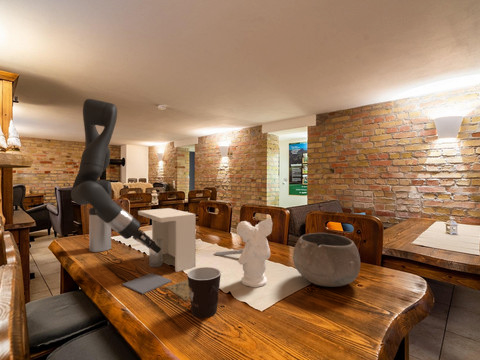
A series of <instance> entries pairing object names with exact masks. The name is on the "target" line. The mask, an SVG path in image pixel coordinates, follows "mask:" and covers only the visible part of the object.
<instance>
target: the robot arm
mask: <svg viewBox="0 0 480 360" xmlns="http://www.w3.org/2000/svg"><path fill="white" fill-rule="evenodd" d="M82 118H83V119H82V121H83V127H84V139H85V141H84V142H85V143H84V145H85V147H84V148H85V149H84V150H83V152H82V153H81V158H80V163H79V166H78V167H79V169H78V172H77V175H76V177H75V179H74V181H73V183H72V187H71V193H70V196H71V199H72V201H73V203H75V204H77V205H80V206H83V205H84V206H85V205H91V206H92V207H90V208H89V209H88V214H89V215H88V219H89V220H88V221H89V222H88V224H89V225H88V230H89V232H88V234H89V236H88V239H89V240H88V241H89V243H88V244H89V245H88V247H89V248H88V250H89V252H92V253H98V252H104V251H109V250H111V249H112V230H113V231H114V232H115V233H116V234H118V235H120V236H121V237H123V239H125V240H127V239H130V238H131V237H132V239H133V240H134V241H136V242H138V243H140V244H142V245H143V246H145V247H146V248H148V249H149V248H151V249H152V250H153V251H155V252H156V253H159V251H160V250H161V248H160V247H159V246H157V245H156V244H155V242H154V241H153V240H151V239H152V237H150V236H149V235H148V234H146V232H145V231H143V230H141V229H140V228H141V225H142V224H141V222H140V221H139V220H138V219H136V218H135V217H134V216H133V215H131V213H129V212H128V211H127V210H125V209H124V208H122V207H121V206H120V205H119V204H117V202H115V201H114V200H113V199H112V189H113V188H112V183H111V181H110V180H99V179H100V178H101V176H102V174H103V172H104V171H106V169H107V168H108V167H109V166H110V162H111V161H110V160H111V150H110V147H109V145H110V142H111V139H112V137H113V134H114V129H115V127H116V123H117V118H118V108H117V105H116V104H114V103H112V102H107V101H102V100H98V99H93V98H86V99H85V100H84V101H83V105H82ZM98 126H99V127H103V129H102V131H101V132H100V133H99V131H98V129H97V127H98ZM149 241H151V243H150V245H149Z"/></svg>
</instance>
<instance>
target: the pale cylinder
mask: <svg viewBox="0 0 480 360" xmlns="http://www.w3.org/2000/svg"><path fill="white" fill-rule="evenodd" d="M151 240H153V241H154V242H155V244H156V245H157V246H159V247H160V248H161V250H160V251H159V253H156V252H155V251H153V250H152V249H151V248H148V254H149V256H148V257H149V258H148V259H149V263H148V264H149V265H148V266H149V267H150V268H159V267H162V266H163V262H164V261H163V259H164V258H163V255H164V254H163V239H160V238H156V239H152V238H151ZM150 243H151V241H149V245H150Z"/></svg>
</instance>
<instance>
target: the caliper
mask: <svg viewBox="0 0 480 360" xmlns="http://www.w3.org/2000/svg"><path fill="white" fill-rule="evenodd" d="M243 249H244V248H240V249H237V250H235V249H233V250H224V251H223V250H222V251H216V252H214V253H213V254H212V255H214V256H215V255H216V256H229V255H230V256H231V255H241V253H242V251H243Z"/></svg>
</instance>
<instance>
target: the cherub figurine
mask: <svg viewBox="0 0 480 360" xmlns="http://www.w3.org/2000/svg"><path fill="white" fill-rule="evenodd" d="M273 226H274V225H273V220H272V219H271V217H270V216H269V217H267V218H266V219H264V220H261V221H259V222H258V224H257V223H256V224H255V226H253V225H252V224H251V222H249V221H247V220H244V221H243V220H242V221H240V222H238V224H237V226H236V234H237V235H238V236H239V237H240V238H241V240H242V242H243V243H245V245H244V247H243V248H242V249H243V251H242V253H241V254H240V256H239V258H238V260H237V263H239V265H242V270H243V276H242V277H241V280H240V281H241V283H242V284H243V285H244V286H245V287H246V286H247V287H250V288H260V287H262V286H265V285H266V284H267V282H268V278H267V277H266V275H265V271H266V270H267V269H266V268H267V263H266V261H267V260H268V259H270V257H271V250H270V245H269V241H268V239H267V237H268V236H269V235H271V234H272V231H273Z"/></svg>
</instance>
